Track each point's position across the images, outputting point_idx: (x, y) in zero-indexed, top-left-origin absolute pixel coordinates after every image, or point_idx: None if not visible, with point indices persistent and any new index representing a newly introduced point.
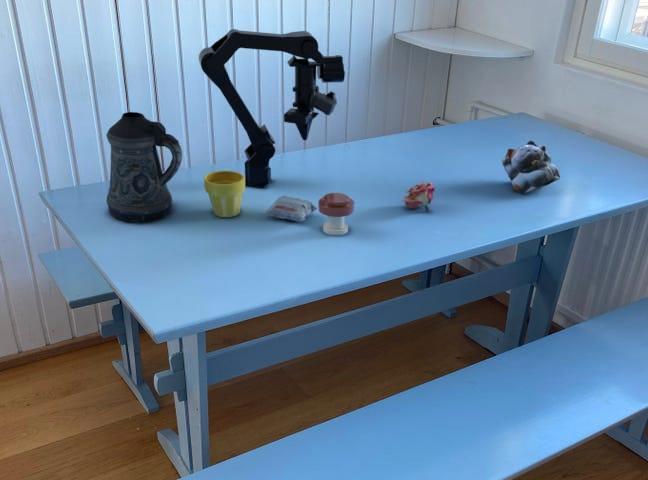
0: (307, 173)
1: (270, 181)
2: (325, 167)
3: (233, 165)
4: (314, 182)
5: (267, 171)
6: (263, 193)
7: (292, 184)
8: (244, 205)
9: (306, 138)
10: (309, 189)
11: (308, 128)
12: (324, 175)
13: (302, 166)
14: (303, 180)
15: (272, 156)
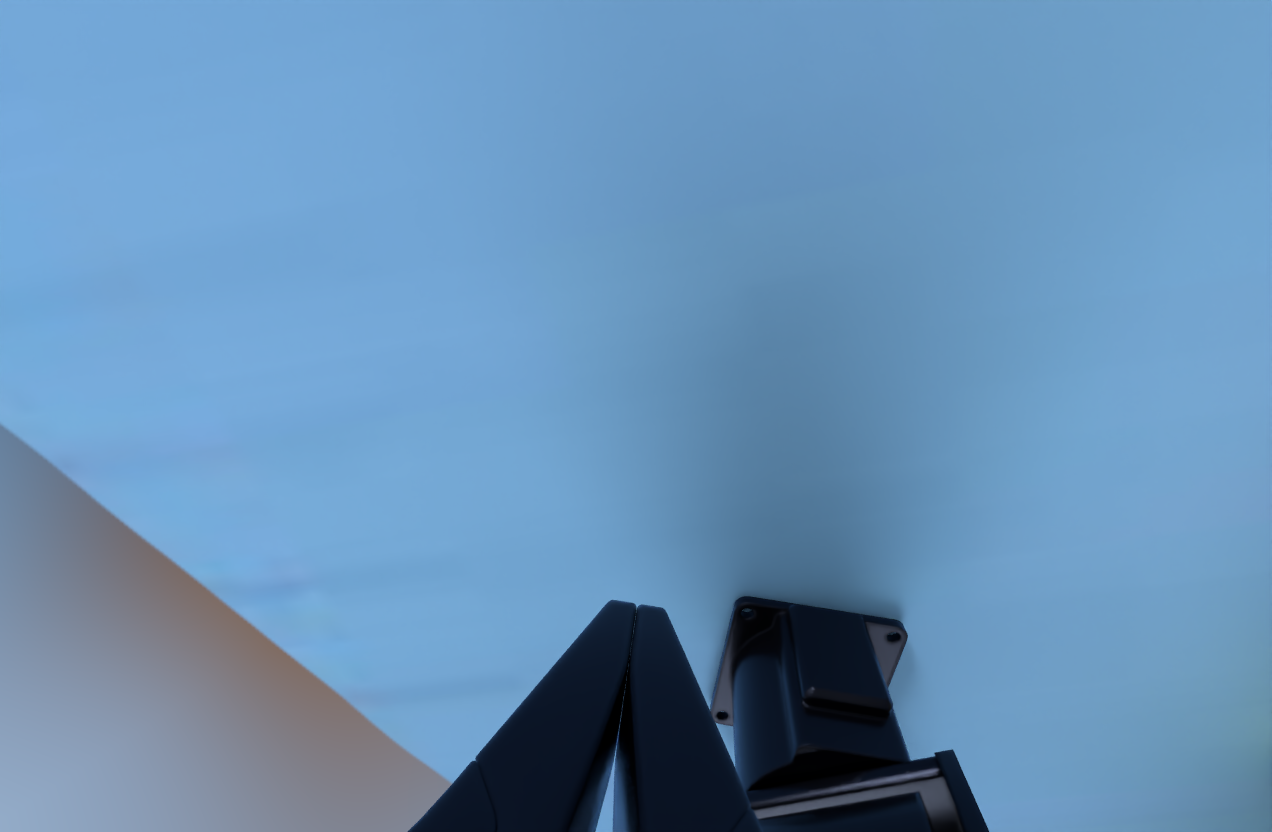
0: (500, 369)
1: (770, 601)
2: (296, 236)
3: None
4: (692, 271)
5: (887, 697)
6: (997, 608)
7: (779, 445)
8: (1239, 685)
9: (674, 632)
10: (876, 286)
11: (673, 821)
12: (492, 208)
13: (366, 432)
14: (668, 374)
15: (919, 799)
